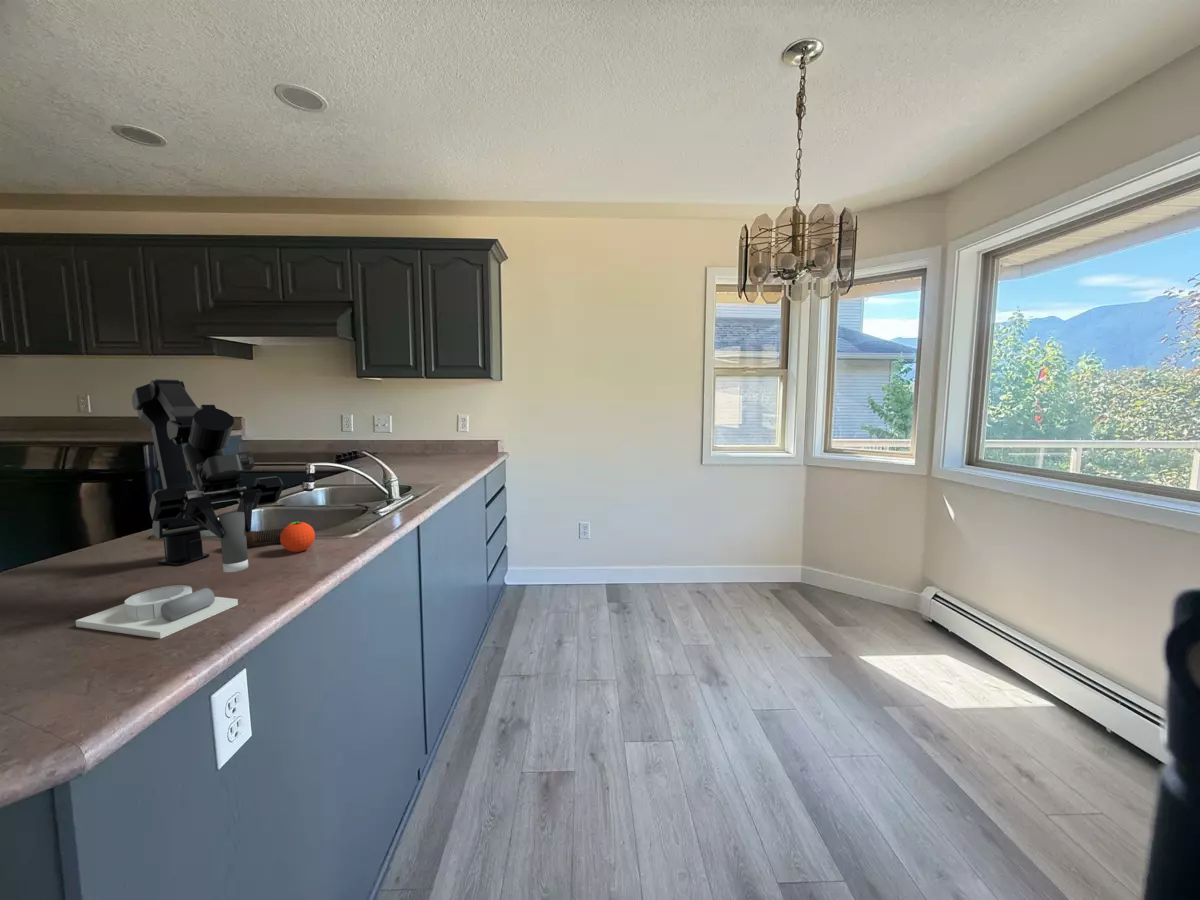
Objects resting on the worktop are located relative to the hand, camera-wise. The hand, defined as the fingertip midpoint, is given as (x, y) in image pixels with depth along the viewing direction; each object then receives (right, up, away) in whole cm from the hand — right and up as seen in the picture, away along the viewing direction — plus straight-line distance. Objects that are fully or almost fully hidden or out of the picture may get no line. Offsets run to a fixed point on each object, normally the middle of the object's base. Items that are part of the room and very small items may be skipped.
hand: (235, 534), depth 84 cm
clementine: (-7, -9, +28) cm, 30 cm away
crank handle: (-1, -7, +1) cm, 7 cm away
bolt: (-16, -9, +33) cm, 38 cm away
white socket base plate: (-8, -12, -6) cm, 16 cm away
